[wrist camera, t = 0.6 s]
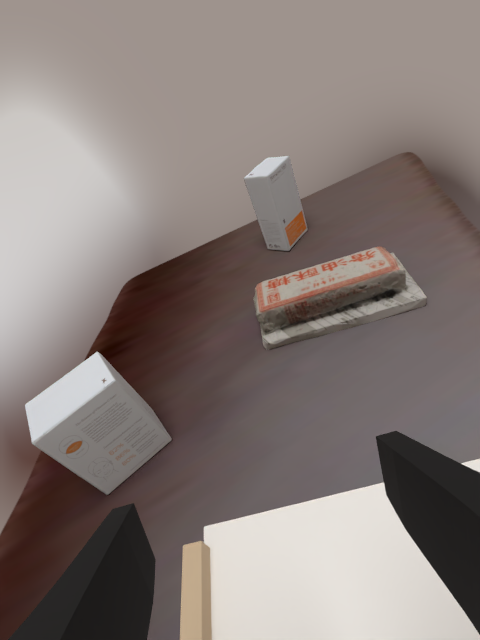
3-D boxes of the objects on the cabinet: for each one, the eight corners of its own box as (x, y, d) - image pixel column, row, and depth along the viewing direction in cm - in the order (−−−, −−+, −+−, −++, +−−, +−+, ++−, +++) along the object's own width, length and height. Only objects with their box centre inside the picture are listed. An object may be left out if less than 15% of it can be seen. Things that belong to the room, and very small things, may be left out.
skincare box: (290, 252, 55) (266, 176, 47) (267, 250, 57) (241, 178, 50) (309, 229, 57) (290, 154, 50) (287, 228, 60) (265, 157, 53)
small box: (153, 409, 41) (99, 348, 34) (174, 440, 37) (116, 377, 30) (92, 459, 39) (22, 403, 32) (106, 497, 35) (29, 443, 28)
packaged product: (252, 325, 39) (247, 274, 46) (266, 354, 42) (259, 302, 49) (428, 272, 35) (391, 226, 43) (429, 309, 38) (394, 260, 46)
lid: (766, 833, 11) (803, 844, 10) (193, 878, 14) (171, 892, 13) (504, 457, 21) (507, 440, 20) (196, 532, 24) (183, 522, 23)
